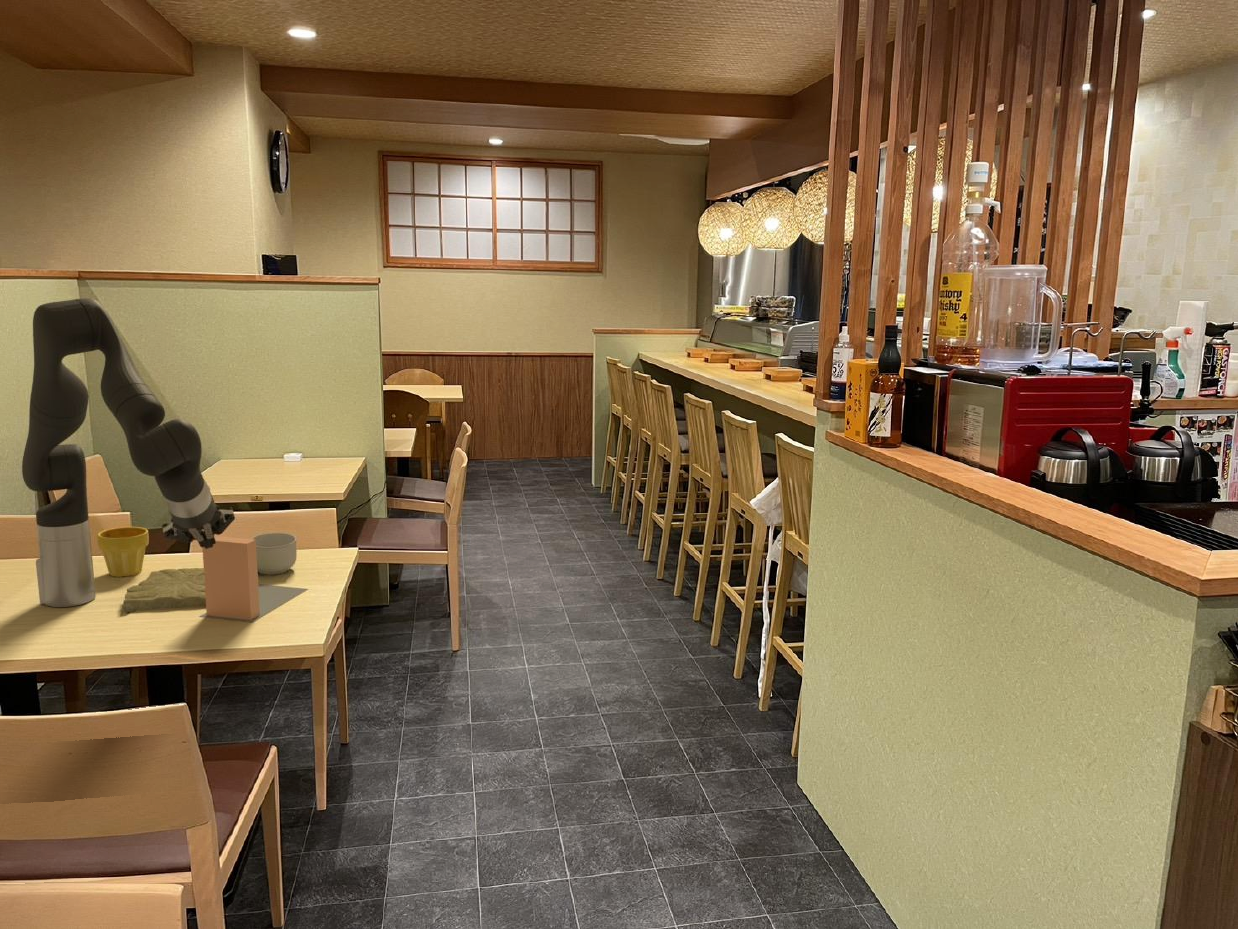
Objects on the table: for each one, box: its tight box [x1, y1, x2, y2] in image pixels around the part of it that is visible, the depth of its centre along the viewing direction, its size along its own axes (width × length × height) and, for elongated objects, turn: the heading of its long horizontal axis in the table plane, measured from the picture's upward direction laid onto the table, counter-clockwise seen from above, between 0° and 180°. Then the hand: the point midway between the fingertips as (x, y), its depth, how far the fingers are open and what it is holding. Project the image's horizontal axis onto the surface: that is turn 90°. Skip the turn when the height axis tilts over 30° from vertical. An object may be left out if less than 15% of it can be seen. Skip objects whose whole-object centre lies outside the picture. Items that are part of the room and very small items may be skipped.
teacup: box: [250, 532, 298, 576], centre depth 210 cm, size 14×11×8 cm
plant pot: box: [96, 526, 150, 578], centre depth 206 cm, size 10×10×10 cm
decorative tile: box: [122, 567, 206, 613], centre depth 193 cm, size 19×20×4 cm
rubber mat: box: [199, 583, 309, 624], centre depth 189 cm, size 12×21×1 cm, turn 169°
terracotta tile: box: [201, 535, 260, 620], centre depth 180 cm, size 10×3×16 cm, turn 79°
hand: (208, 544), depth 173 cm, fingers closed
